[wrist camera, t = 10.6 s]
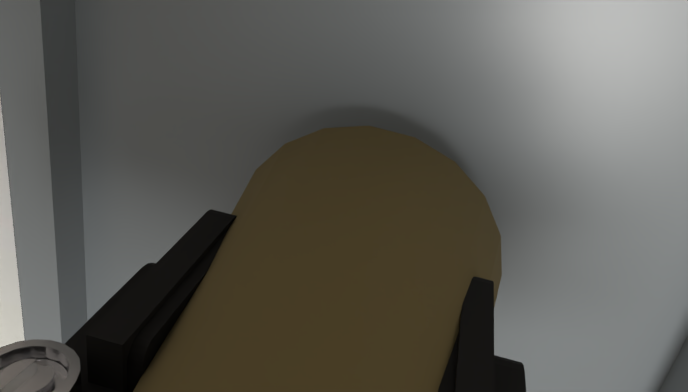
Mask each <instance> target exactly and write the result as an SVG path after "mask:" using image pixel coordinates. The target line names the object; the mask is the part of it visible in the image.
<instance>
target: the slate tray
mask: <svg viewBox="0 0 688 392" xmlns="http://www.w3.org/2000/svg"><path fill="white" fill-rule="evenodd" d="M0 95H1V105H2V115H3V125H4V135H5V145H6V155H7V165H8V176H9V186H10V196H11V206H12V216H13V226H14V236H15V246H16V257H17V267H18V277H19V287H20V297H21V307H22V317H23V327H24V338H25V340H32V339H42V340H53V341H56V342H60V343H63V344H65V343H66V342H67V341H68V340H69V339H70V338H71V337H72V336H73V335H74V334H75V333H76V332H77V331H78V330H79V329H80V328H81V327H82V326H83V325H84V324H85V323H86V322H87V321H88V320H89V319H90V318H91V317H92V316H93V315H94V314H95V313H96V312H97V311H98V310H99V309H100V308H101V307H102V306H103V305H104V304H105V303H106V302H107V301H108V300H109V299H110V298H111V297H112V296H113V295H114V294H115V293H116V292H117V291H118V290H119V289H120V288H121V287H122V286H124V285H125V284H126V283H127V282H128V281H129V280H130V279H131V278H132V277H133V276H134V275H135V274H136V273H137V272H138V271H139V270H140V269H141V268H142V267H143V266H144V265H146V264H147V263H157V262H158V261H159V260H160V259H161V258H162V257H163V256H164V255H165V254H166V253H167V252H168V251H169V250H170V249H171V248H172V247H173V246H174V245H175V244H176V243H177V242H178V240H179V239H180V238H181V237H182V236H183V235H184V234H185V233H186V232H187V231H188V230H189V229H190V228H191V227H192V226H193V225H194V224H195V223H196V222H197V221H198V220H199V219H200V218H201V217H202V216H203V215H204V214H205V213H206V212H207V211H208V210H210V209H212V210H216V211H220V212H224V213H228V214H232V212H233V210H234V208H235V206H236V205H237V203H238V201H239V199H240V197H241V196H242V194H243V192H244V190H245V188H246V187H247V185H248V183H249V181H250V179H251V178H252V176H253V174H254V172H255V170H256V169H257V168H258V167H259V166H260V165H262V164H263V163H264V162H265V161H266V160H267V159H268V158H269V157H271V156H272V155H273V154H274V153H275V152H276V151H277V150H278V149H280V148H281V147H282V146H283V145H284V144H285V143H288V142H290V141H293V140H295V139H298V138H300V137H303V136H305V135H308V134H310V133H313V132H315V131H318V130H321V129H323V128H335V127H353V126H373V127H377V128H381V129H384V130H388V131H392V132H396V133H400V134H404V135H408V136H412V137H415V138H417V139H419V140H420V141H422V142H423V143H425V144H427V145H428V146H430V147H432V148H433V149H435V150H437V151H438V152H440V153H442V154H443V155H445V156H446V157H448V158H450V159H451V160H453V161H455V162H456V163H457V164H458V166H459V167H460V168H461V169H462V170H463V171H464V173H465V174H466V175H467V176H468V177H469V178H470V179H471V181H472V182H473V183H474V184H475V185H476V186H477V187H478V189H479V190H480V191H481V192H482V193H483V194H484V196H485V197H486V200H487V202H488V205H489V207H490V210H491V212H492V215H493V217H494V220H495V222H496V225H497V227H498V230H499V232H500V235H501V261H502V276H501V281H500V285H499V289H498V294H497V298H496V302H495V307H494V355H496V356H500V357H503V358H507V359H511V360H514V361H518V362H522V364H523V365H524V370H525V382H526V392H688V0H0Z"/></svg>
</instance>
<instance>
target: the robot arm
mask: <svg viewBox="0 0 688 392" xmlns="http://www.w3.org/2000/svg"><path fill="white" fill-rule="evenodd" d="M236 217H237V216H236V215H232V214H228V213H224V212H220V211H216V210H212V209H210V210H208V211H207V212H206V213H205V214H204V215H203V216H202V217H201V218H200V219H199V220H198V221H197V222H196V223H195V224H194V225H193V226H192V227H191V228H190V229H189V230H188V231H187V232H186V233H185V234H184V235H183V236H182V237H181V238H180V239H179V240H178V242H177V243H176V244H175V245H174V246H173V247H172V248H171V249H170V250H169V251H168V252H167V253H166V254H165V255H164V256H163V257H162V258H161V259H160V260H159V261H158V262H157V263H147V264H146V265H144V266H143V267H142V268H141V269H140V270H139V271H138V272H137V273H136V274H135V275H134V276H133V277H132V278H131V279H130V280H129V281H128V282H127V283H126V284H125V285H124V286H122V287H121V288H120V289H119V290H118V291H117V292H116V293H115V294H114V295H113V296H112V297H111V298H110V299H109V300H108V301H107V302H106V303H105V304H104V305H103V306H102V307H101V308H100V309H99V310H98V311H97V312H96V313H95V314H94V315H93V316H92V317H91V318H90V319H89V320H88V321H87V322H86V323H85V324H84V325H83V326H82V327H81V328H80V329H79V330H78V331H77V332H76V333H75V334H74V335H73V336H72V337H71V338H70V339H69V340H68V341H67V342H66V343H65V344H63V343H60V342H56V341H53V340H42V339H32V340H25V341H19V342H15V343H12V344H9V345H6V346H3V347H1V348H0V392H133V391H134V389H135V387H136V385H137V383H138V381H139V380H140V378H141V376H142V375H143V374H144V372H145V370H146V369H147V367H148V366H149V364H150V362H151V361H152V359H153V358H154V356H155V355H156V353H157V351H158V350H159V348H160V347H161V345H162V343H163V342H164V340H165V339H166V337H167V335H168V334H169V332H170V331H171V329H172V327H173V326H174V324H175V323H176V321H177V319H178V318H179V316H180V315H181V313H182V311H183V310H184V308H185V307H186V305H187V303H188V302H189V300H190V299H191V297H192V295H193V294H194V292H195V291H196V289H197V287H198V286H199V284H200V283H201V281H202V279H203V278H204V276H205V275H206V273H207V271H208V270H209V268H210V266H211V264H212V262H213V260H214V258H215V256H216V254H217V252H218V249H219V247H220V245H221V243H222V241H223V239H224V237H225V235H226V233H227V231H228V229H229V227H230V226H231V224H232V223H233V221H234V220H235V218H236ZM438 392H526V382H525V370H524V365H523V364H522V362H518V361H514V360H511V359H507V358H503V357H500V356H496V355H494V282H493V281H491V280H487V279H484V278H480V277H473V278H472V280H471V282H470V285H469V288H468V290H467V293H466V296H465V298H464V301H463V304H462V310H461V317H460V325H459V332H458V335H457V338H456V341H455V344H454V346H453V349H452V352H451V355H450V358H449V360H448V363H447V366H446V369H445V372H444V375H443V377H442V380H441V383H440V386H439V389H438Z"/></svg>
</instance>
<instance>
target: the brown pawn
mask: <svg viewBox="0 0 688 392" xmlns="http://www.w3.org/2000/svg"><path fill="white" fill-rule="evenodd" d="M232 215H236V216H237V217H236V218H235V220H234V221H233V223H232V224H231V226H230V227H229V229H228V231H227V233H226V235H225V237H224V239H223V241H222V243H221V245H220V247H219V249H218V252H217V254H216V256H215V258H214V260H213V262H212V264H211V266H210V268H209V270H208V271H207V273H206V275H205V276H204V278H203V279H202V281H201V283H200V284H199V286H198V287H197V289H196V291H195V292H194V294H193V295H192V297H191V299H190V300H189V302H188V303H187V305H186V307H185V308H184V310H183V311H182V313H181V315H180V316H179V318H178V319H177V321H176V323H175V324H174V326H173V327H172V329H171V331H170V332H169V334H168V335H167V337H166V339H165V340H164V342H163V343H162V345H161V347H160V348H159V350H158V351H157V353H156V355H155V356H154V358H153V359H152V361H151V362H150V364H149V366H148V367H147V369H146V370H145V372H144V374H143V375H142V376H141V378H140V380H139V381H138V383H137V385H136V387H135V389H134V391H133V392H438V389H439V386H440V383H441V380H442V377H443V375H444V372H445V369H446V366H447V363H448V360H449V358H450V355H451V352H452V349H453V346H454V344H455V341H456V338H457V335H458V332H459V325H460V317H461V310H462V304H463V301H464V298H465V296H466V293H467V290H468V288H469V285H470V282H471V280H472V278H473V277H480V278H484V279H487V280H491V281H493V282H494V307H495V302H496V298H497V294H498V289H499V285H500V281H501V276H502V261H501V235H500V232H499V230H498V227H497V225H496V222H495V220H494V217H493V215H492V212H491V210H490V207H489V205H488V202H487V200H486V197H485V196H484V194H483V193H482V192H481V191H480V190H479V189H478V187H477V186H476V185H475V184H474V183H473V182H472V181H471V179H470V178H469V177H468V176H467V175H466V174H465V173H464V171H463V170H462V169H461V168H460V167H459V166H458V164H457V163H456V162H455V161H453V160H451V159H450V158H448V157H446V156H445V155H443V154H442V153H440V152H438V151H437V150H435V149H433V148H432V147H430V146H428V145H427V144H425V143H423V142H422V141H420V140H419V139H417V138H415V137H412V136H408V135H404V134H400V133H396V132H392V131H388V130H384V129H381V128H377V127H373V126H353V127H335V128H323V129H321V130H318V131H315V132H313V133H310V134H308V135H305V136H303V137H300V138H298V139H295V140H293V141H290V142H288V143H285V144H284V145H283V146H282V147H281V148H280V149H278V150H277V151H276V152H275V153H274V154H273V155H272V156H271V157H269V158H268V159H267V160H266V161H265V162H264V163H263V164H262V165H260V166H259V167H258V168H257V169H256V170H255V172H254V174H253V176H252V178H251V179H250V181H249V183H248V185H247V187H246V188H245V190H244V192H243V194H242V196H241V197H240V199H239V201H238V203H237V205H236V206H235V208H234V210H233V212H232Z"/></svg>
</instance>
